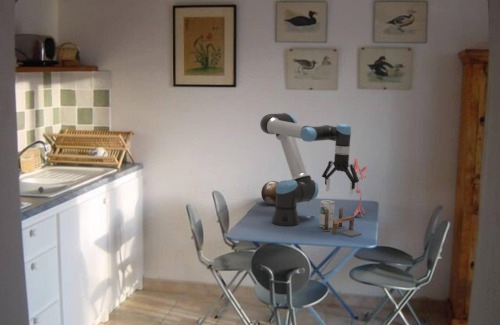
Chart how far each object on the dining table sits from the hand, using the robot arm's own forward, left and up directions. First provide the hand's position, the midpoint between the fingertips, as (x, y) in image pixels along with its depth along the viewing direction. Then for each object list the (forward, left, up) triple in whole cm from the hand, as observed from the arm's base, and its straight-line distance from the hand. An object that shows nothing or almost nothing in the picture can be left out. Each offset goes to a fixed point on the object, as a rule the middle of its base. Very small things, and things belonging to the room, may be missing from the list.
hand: (339, 192), depth 318 cm
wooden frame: (+1, 0, -20) cm, 20 cm away
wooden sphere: (-65, +11, -21) cm, 69 cm away
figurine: (-19, +34, -21) cm, 44 cm away
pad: (+10, 0, -20) cm, 23 cm away
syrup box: (-8, 0, -21) cm, 22 cm away
